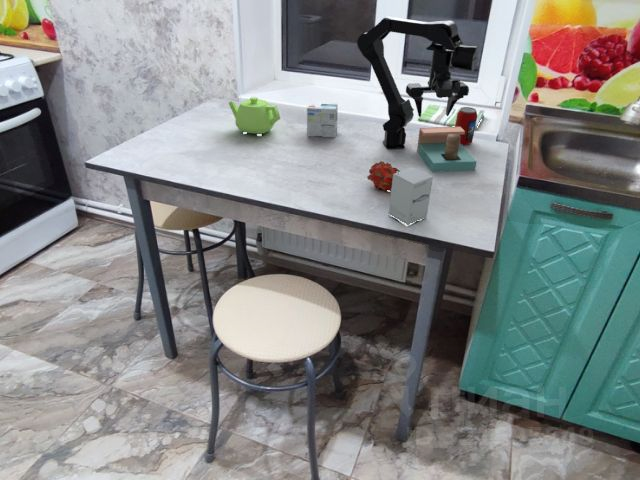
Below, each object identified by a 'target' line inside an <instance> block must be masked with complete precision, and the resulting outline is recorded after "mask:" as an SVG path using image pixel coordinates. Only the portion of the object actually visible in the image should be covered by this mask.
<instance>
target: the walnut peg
mask: <svg viewBox="0 0 640 480" xmlns="http://www.w3.org/2000/svg"><path fill="white" fill-rule="evenodd" d="M460 139H461V136H460V135H458V134H449V135H448V137H447V143H446V149H445V155H444V159H445V161H451V160H457V156H458V150H459V145H460Z"/></svg>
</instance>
